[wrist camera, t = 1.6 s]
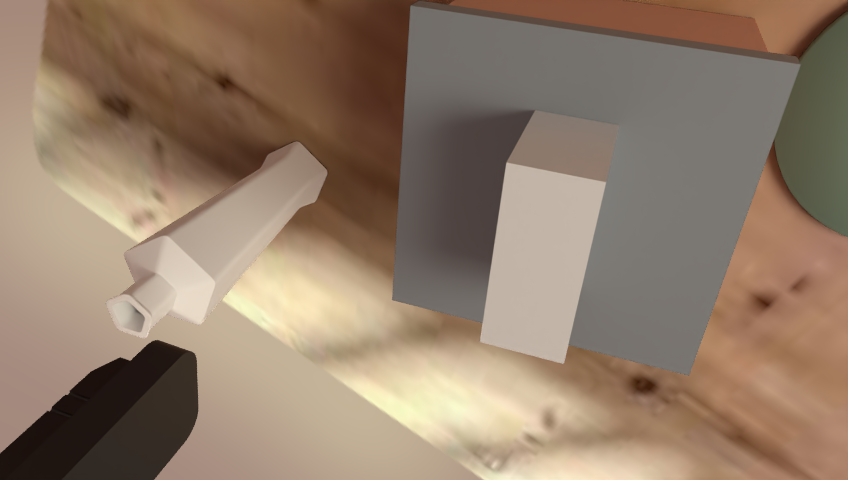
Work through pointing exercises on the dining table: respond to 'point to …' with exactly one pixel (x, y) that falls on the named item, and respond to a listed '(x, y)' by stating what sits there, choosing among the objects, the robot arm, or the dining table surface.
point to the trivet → (819, 129)
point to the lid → (577, 179)
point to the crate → (636, 19)
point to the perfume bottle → (214, 243)
